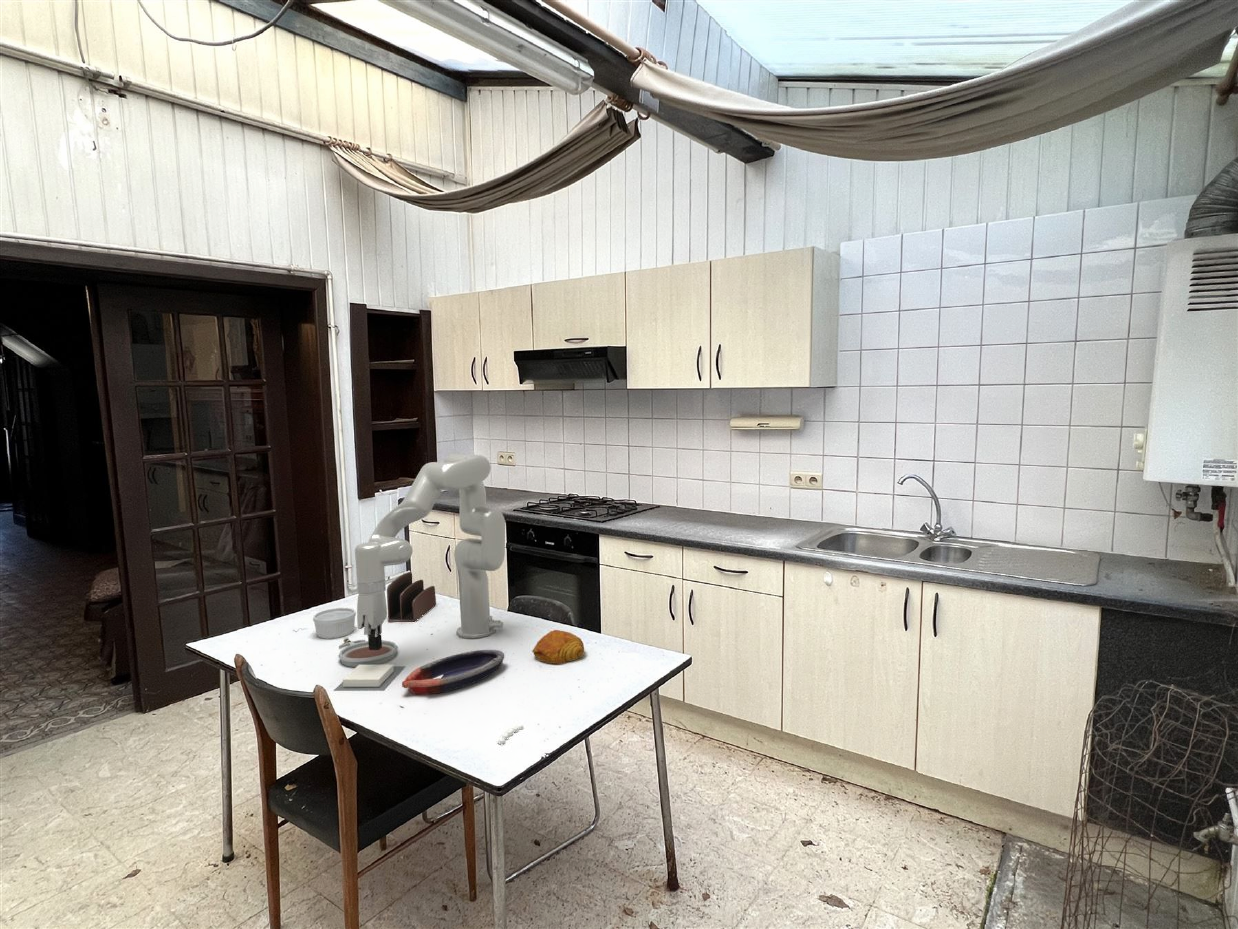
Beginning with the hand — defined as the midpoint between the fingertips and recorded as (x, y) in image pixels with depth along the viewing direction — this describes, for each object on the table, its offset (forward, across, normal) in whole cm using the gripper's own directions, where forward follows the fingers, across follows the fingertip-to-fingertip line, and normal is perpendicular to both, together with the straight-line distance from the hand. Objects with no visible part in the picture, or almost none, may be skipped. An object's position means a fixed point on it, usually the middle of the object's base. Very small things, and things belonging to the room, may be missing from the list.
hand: (375, 648), depth 192 cm
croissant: (+8, -13, +50) cm, 52 cm away
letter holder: (+8, -52, -9) cm, 54 cm away
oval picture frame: (+7, -15, -11) cm, 20 cm away
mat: (+7, +4, 0) cm, 8 cm away
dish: (+8, +4, +24) cm, 26 cm away
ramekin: (+8, -33, -28) cm, 44 cm away
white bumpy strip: (+8, +35, +46) cm, 59 cm away
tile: (+6, 0, 0) cm, 6 cm away
